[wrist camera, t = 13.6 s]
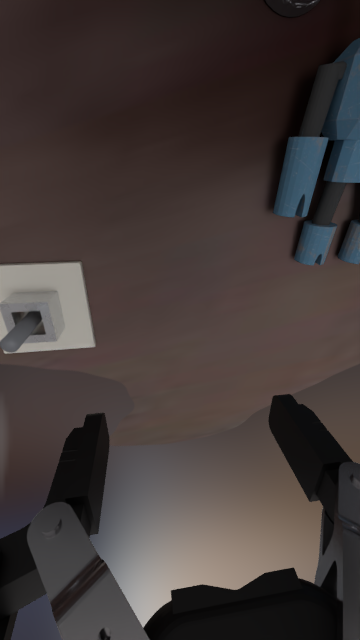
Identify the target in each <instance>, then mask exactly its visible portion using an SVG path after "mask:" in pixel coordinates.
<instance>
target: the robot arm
mask: <svg viewBox="0 0 360 640" xmlns="http://www.w3.org/2000/svg"><path fill="white" fill-rule="evenodd" d="M265 1H266V3H267V4H268V5H269V6H270V7H271V8H272V9H273V10H274V11H275V12H277V13H278V14H280V15H282V16H287V17H297V16H300V15H303V14H305V13H307V12H308V11H310V10H311V9H312V8H314V7H315V5H316V4H317V3H318V2H319V1H320V0H265ZM269 427H270V429H271V432H272V434H273V436H274V437H275V439H276V441H277V443H278V445H279V447H280V448H281V450H282V452H283V454H284V456H285V458H286V460H287V461H288V463H289V465H290V467H291V469H292V470H293V472H294V474H295V476H296V478H297V480H298V481H299V483H300V485H301V487H302V488H303V490H304V492H305V494H306V496H307V498H308V500H309V501H310V502H312V501H318V500H320V502H321V503H322V505H323V509H322V519H321V535H320V551H319V561H318V567H317V571H316V576H315V582H314V584H313V583H311V582H309V581H306V580H303V579H299V578H298V576H297V574H296V572H295V569H294V568H289V569H283V570H278V571H273V572H268V573H264V574H263V575H261V576H259V577H258V578H256V579H255V580H253V581H251V582H250V583H248V584H247V585H245V586H243V587H242V588H240V589H238V590H231V589H225V588H220V587H213V586H208V585H197V586H192V587H187V588H181V589H176V590H172V591H171V597H172V600H171V601H170V602H168V603H167V604H165V605H164V606H162V607H161V608H160V609H159V610H158V611H157V612H156V613H155V614H154V615H153V616H152V617H151V618H150V620H149V621H148V622H147V624H146V625H145V626H144V628H143V627H142V625H141V624H140V622H139V620H138V619H137V617H136V615H135V613H134V612H133V610H132V608H131V606H130V604H129V603H128V601H127V599H126V597H125V596H124V594H123V592H122V590H121V589H120V587H119V585H118V583H117V582H116V580H115V578H114V576H113V575H112V573H111V571H110V569H109V568H108V566H107V564H106V563H105V562H104V560H102V559H101V558H100V557H99V555H98V553H97V551H96V550H95V548H94V546H93V544H92V542H91V541H90V539H89V537H90V535H93V534H98V531H99V523H100V515H101V507H102V500H103V492H104V485H105V477H106V469H107V462H108V454H109V434H108V428H107V423H106V417H105V413H95V414H87V415H86V418H85V422H84V426H83V427H81V428H74V429H73V431H72V432H71V433H70V434H69V436H68V437H67V438H66V441H65V444H64V447H63V452H62V453H61V457H60V460H59V464H58V466H57V470H56V473H55V476H54V479H53V482H52V486H51V489H50V492H49V495H48V498H47V501H46V504H45V506H44V508H43V509H42V510H41V511H40V512H39V513H38V514H37V515H36V516H35V518H34V519H33V520H32V522H31V523H30V524H28V525H27V526H25V527H24V528H22V529H21V530H18V531H16V532H14V533H12V534H10V535H8V536H6V537H4V538H1V539H0V640H11V636H12V632H13V628H14V624H15V621H16V617H17V613H18V610H19V609H21V608H23V607H24V606H26V605H28V604H29V603H31V602H33V601H35V600H36V599H38V598H40V597H41V596H43V595H45V594H46V593H47V595H48V598H49V601H50V603H51V606H52V612H53V615H54V618H55V621H56V624H57V626H58V629H59V632H60V635H61V637H62V640H360V464H358V463H355V462H353V461H352V460H351V459H350V458H349V456H348V455H347V454H346V452H344V450H343V449H342V448H341V446H340V445H339V444H338V442H337V441H336V440H335V439H334V437H333V436H332V435H331V434H330V432H329V431H327V429H326V427H325V426H324V425H323V423H321V422H320V420H319V419H318V417H317V416H316V415H315V413H314V412H313V411H312V410H310V409H309V408H307V407H306V406H305V405H303V404H298V403H297V402H296V400H295V399H294V398H293V396H292V395H290V394H285V395H276V396H273V399H272V404H271V409H270V414H269Z"/></svg>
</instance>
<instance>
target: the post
mask: <svg viewBox="0 0 360 640" xmlns="http://www.w3.org/2000/svg"><path fill="white" fill-rule="evenodd" d="M39 291H58V295H59V299H60V304H61V308H62V313H63V318H64V322H65V329H64V330H63V332H62V334H61V336H60V337H59V339H58V341H55V342H40V343H24V342H25V340H26V339H27V338H28V337H29V335H30V334H31V333H32V332H33V330H34V329H35V328H36V327H37V326H38V324H39V323H40V322H41V321H43V320H42V316H41V313H40V311H28V313H27V314H26V315H25V317H24V318H23V319H22V320H21V321H20V322H19V323H18V324H17V325H16V326H15V327H14V328H13V329H12V330H11V331H10V332H9V333H8V331H7V328H6V325H5V322H4V319H3V316H2V313H1V310H0V346H1V348H2V349H3V350H4V353H5V354H6V353H20V352H33V351H47V350H60V349H74V348H87V347H95V345H96V341H95V335H94V330H93V324H92V318H91V312H90V307H89V301H88V295H87V289H86V284H85V278H84V272H83V267H82V261H72V262H45V263H17V264H0V303H1V302H2V301H3V300H5V299H6V298H7V297H9V296H10V295H11V294H13V293H15V292H39ZM23 343H24V344H23Z"/></svg>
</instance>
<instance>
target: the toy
mask: <svg viewBox="0 0 360 640" xmlns="http://www.w3.org/2000/svg"><path fill="white" fill-rule="evenodd" d="M321 132H322V134H323V136H324V137H320V134H321ZM328 140H334V145H333V148H332V152H331V155H330V158H329V162H328V165H327V169H326V172H325V176H324V179H323V180H325V181H327V182H326V185H325V187H324V190H323V193H322V196H321V198H320V201H319V204H318V206H317V209H316V212H315V214H314V217H313V220H307V221H304V225H303V229H302V232H301V236H300V239H299V243H298V247H297V250H296V254H295V257H294V259H295V260H296V261H298V262H300V263H303V264H307V265H314V263H315V262H316V263H317V264H319V265H322V264H324V262H325V259H326V256H327V253H328V250H329V247H330V245H331V242H332V239H333V236H334V233H335V230H336V227H337V225H336V224H335V223H332V222H331V220H332V217H333V215H334V212H335V210H336V207H337V205H338V202H339V200H340V197H341V195H342V193H343V190H344V188H345V185H346V183H360V38H359V39H357V40H355V41H353V42H352V43H351V44H350V45H349V46H348V47H347V48H346V49H345V51H344V52H343V53H342V54H341V55H340V56H339V57H338V58H337V59H336V60H335V61H334V62H333V63H330V64H325V65H319V67H318V71H317V74H316V78H315V81H314V84H313V88H312V91H311V95H310V98H309V101H308V105H307V108H306V112H305V115H304V118H303V122H302V125H301V128H300V132H299V135H298V137H289V139H288V144H287V149H286V154H285V158H284V163H283V168H282V173H281V177H280V182H279V187H278V192H277V196H276V201H275V206H274V211H273V213H274V214H276V215H280V216H286V217H294V216H295V215H297V216H300V217H306V216H307V213H308V210H309V206H310V203H311V199H312V196H313V192H314V188H315V185H316V181H317V178H318V174H319V171H320V167H321V164H322V160H323V156H324V153H325V149H326V146H327V142H328ZM338 258H339V259H341V260H343V261H346V262H349V263H355V264H359V262H360V214H359V220H352V221H351V222H350V225H349V228H348V230H347V233H346V236H345V238H344V241H343V244H342V246H341V249H340V252H339V254H338Z"/></svg>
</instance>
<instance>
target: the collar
mask: <svg viewBox="0 0 360 640" xmlns="http://www.w3.org/2000/svg"><path fill="white" fill-rule="evenodd" d="M0 310H1V313H2V316H3V319H4V322H5V325H6V328H7V331H8V333H9V332H10V331H11V330H12V329H13V328H14V327H15V326H16V325H17V324H18V323H19V322H20V321H21V320H22V319H23V318H24V317H25V315H26V314H27V313H28V311H40V313H41V316H42V320H43V321H41V322H40V323H39V324H38V326H37V327H36V328H35V329H34V330H33V332H32V333H31V334H30V335H29V337H28V338H27V339H26V340H25V342H24V343H40V342H55V341H58V339H59V337H60V336H61V334H62V332H63V330H64V329H65V322H64V318H63V313H62V308H61V304H60V299H59V295H58V291H39V292H15V293H13V294H11V295H10V296H9V297H7V298H6V299H5V300H3V301H2V302H1V303H0ZM24 343H23V344H24Z"/></svg>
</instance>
